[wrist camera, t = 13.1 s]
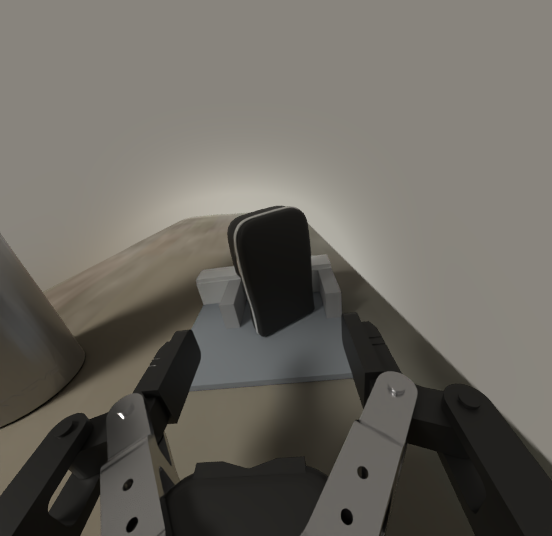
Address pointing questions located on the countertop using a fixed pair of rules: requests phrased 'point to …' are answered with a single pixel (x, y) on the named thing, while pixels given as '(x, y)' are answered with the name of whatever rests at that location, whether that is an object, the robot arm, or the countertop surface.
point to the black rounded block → (273, 265)
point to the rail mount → (274, 347)
